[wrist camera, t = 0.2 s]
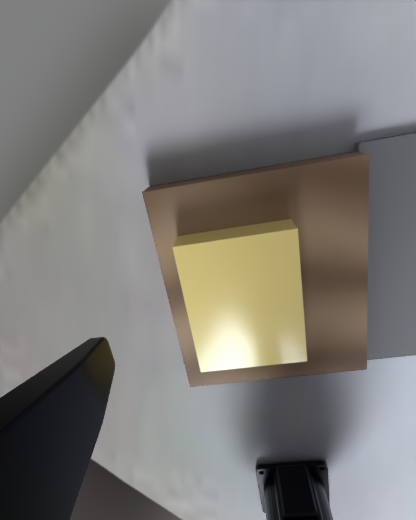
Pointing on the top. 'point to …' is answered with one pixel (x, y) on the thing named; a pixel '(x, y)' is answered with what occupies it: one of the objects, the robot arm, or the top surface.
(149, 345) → the top surface
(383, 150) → the mat
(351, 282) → the cutting block
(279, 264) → the butter block
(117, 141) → the top surface
